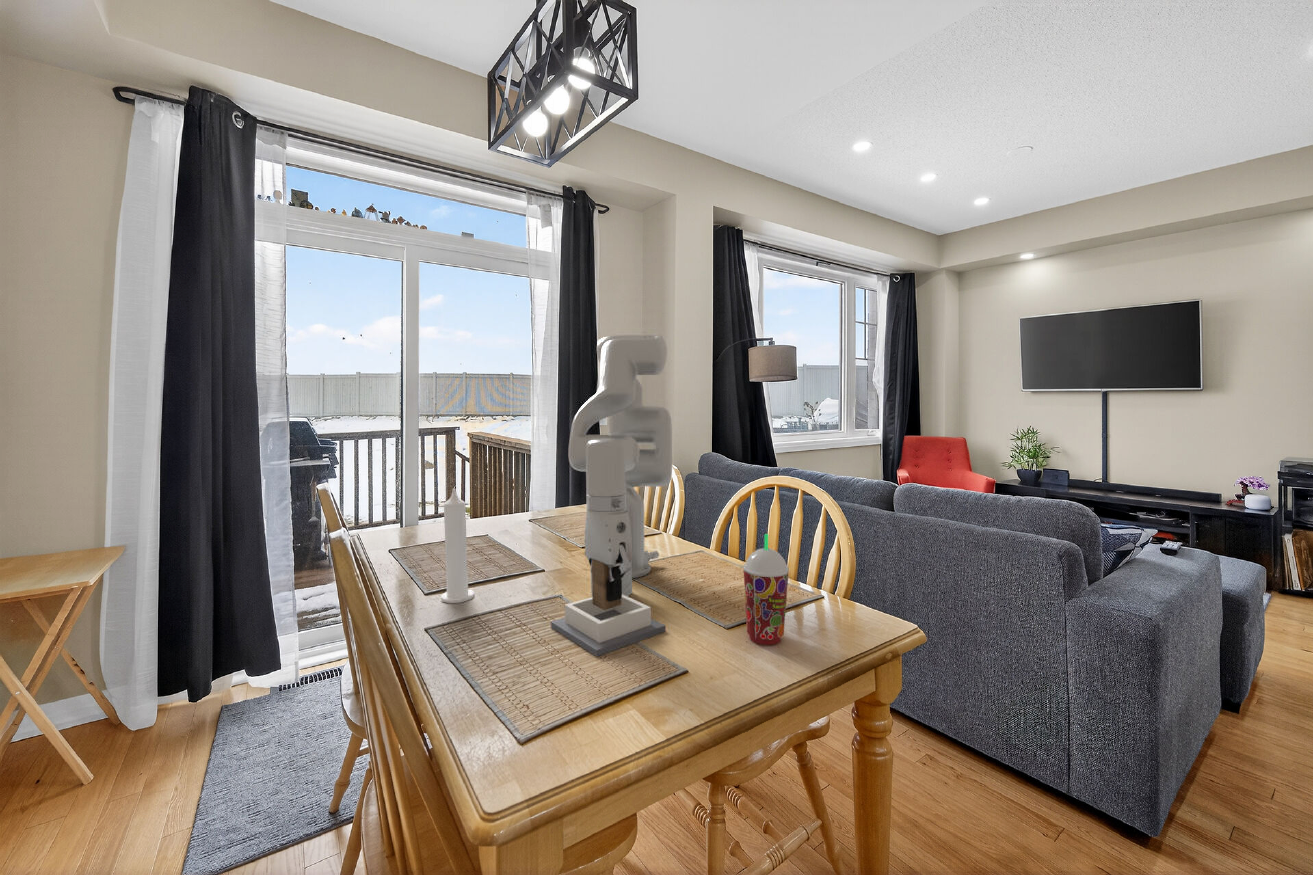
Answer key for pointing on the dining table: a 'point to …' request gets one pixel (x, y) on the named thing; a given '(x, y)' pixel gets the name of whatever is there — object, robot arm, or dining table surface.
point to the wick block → (601, 586)
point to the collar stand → (607, 625)
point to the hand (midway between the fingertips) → (607, 595)
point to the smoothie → (765, 595)
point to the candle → (456, 551)
